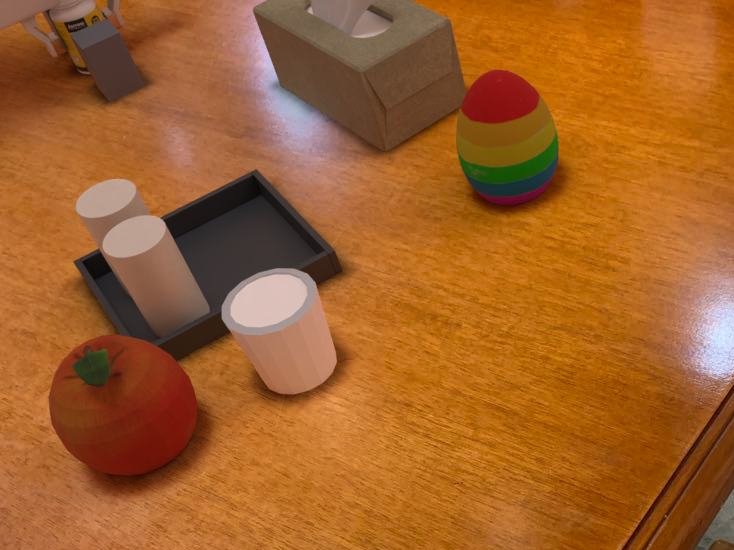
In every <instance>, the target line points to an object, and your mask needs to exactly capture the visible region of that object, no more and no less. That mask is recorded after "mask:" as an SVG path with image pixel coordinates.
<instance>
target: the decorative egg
mask: <svg viewBox="0 0 734 550" xmlns="http://www.w3.org/2000/svg"><path fill="white" fill-rule="evenodd" d="M466 92H467V94H466V95H465V97H464V99H463V102H462V104H461V107H459V108H460V109H459V111H458V115H457V119H456V130H455V131H456V132H455V143H456V144H455V145H456V153H457V157H458V161H459V164H460V167H461V170H462V172H463V174H464V176H465V178H466V180H467V182H468V183H469V185H470V186H471V187H472V189H473V190H474V191H475V192H476V193H477V194H478V195H479V196H481V197H482V198H483V199H484V200H486V201H487V202H490V203H492V204H494V205H499V206H516V205H521V204H526V203H528V202H530V201H533V200H534V199H537V198H538V197H540V196H541V195H542V194H544V193H545V192H546V190H547V189H548V188H549V186H550V184H551V182H552V181H553V179H554V176H555V174H556V171H557V166H558V163H559V162H558V161H559V152H560V147H559V146H560V145H559V143H560V142H559V137H558V136H559V135H558V130H557V127H556V124H555V120H554V118H553V115H552V113H551V110H550V109H549V106H548V105H547V102H546V101H545V100H544V98H543V97H542V95H541V94H540V93H539V92H538V91H537V89H536V88H535V87H534V85H532V84H531V83H530V82H528V81H527V80H526V79H525V78H524V77H522V76H520V75H519V74H517V73H515V72H512V71H510V70H506V69H493V70H489V71H486V72H484V73H483V74H481V75H480V76H479V77H478V78H476V79H475V80H474V82H473V83H472V84H471V86H470V87H469V88H468V90H467V91H466Z"/></svg>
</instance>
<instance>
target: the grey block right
mask: <svg viewBox="0 0 734 550" xmlns="http://www.w3.org/2000/svg"><path fill="white" fill-rule="evenodd" d="M103 19H104V20H101V21H99V22H97V23H95V24H92V25H90V26H88V27H86V28H84V29H81V30H79V31H77V32H75V33H72V34H70V37H71V39H72V40H73V42H74V44H75V46H76V48H77V50H78V52H79V54H80V56H81V58H82V59H83V61H84V63H85V65H86V67H87V69H88V71H89V73H90V74H89V75H90V77H91V78H92V80H93V82H94V84H95V86H96V88H97V89H98V91H99V92H100V93H101V94H102V96H104V97H105V99H106V100H107V101H108V102H109V103H111V102H113V101H115V100H118V99H119V98H120V99H121V98H122V97H124V96H126V95H128V94H131V93H133V92H135V91H137V90H139V89H141V88H144V87H145V86H146V83H145V81H144V79H143V77H142V75H141V74H140V71H139V69H138V67H137V65H136V63H135V61H134V58H133V57H132V55H131V53H130V50H129V49H128V46H127V44H126V42H125V40H124V38H123V36H122V34H121V32H120V31H119V29H118V30H117V29H116V28H115V27H114V26H113V25H112V24H111V23H110V22H109V21H108V20H107V19H105V18H103Z"/></svg>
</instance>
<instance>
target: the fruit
mask: <svg viewBox="0 0 734 550" xmlns="http://www.w3.org/2000/svg"><path fill="white" fill-rule="evenodd" d="M48 408H49V415H50V422H51V426H52V428H53V429H54V431H55V433H56V435H57V437H58V439H59V441H60V442H61V443H62V445H63V446H64V448H65V450H66V451H68V453H70V454H71V455H72V456H73V457H74V458H75V459H76V460H77V461H78V462H81V463H83V464H85V465H86V466H88V467H90V468H91V469H94V470H96V471H99V472H101V473H103V474H109V475H118V476H128V477H132V476H138V475H145V474H147V473H150V472H153V471H155V470H159V469H161V468H162V467H163V466H165V465H166V464H168V463H170V462H172V461H173V460H175V459H176V457H178V456H179V455H180V454H181V453H182V452H183V451H184V450H185V448H186V447H187V445H188V444H189V442H190V441H191V439H192V436H193V434H194V432H195V427H196V423H197V420H198V402H197V395H196V392H195V388H194V386H193V383H192V380H191V377H190V376H189V375H188V373H186V371H185V370H184V369H183V367H182V366H181V365H180V364H179V363H178V361H175V359H174V358H173V357H172V356H171V355H170V354H168V353H167V352H165V351H164V350H162V349H161V348H159V347H157V346H155V345H153V344H151V343H149V342H147V341H145V340H141V339H137V338H132V337H127V336H122V335H120V334H109V335H108V334H107V335H101V336H96V337H93V338H90V339H87V340H86V341H84V342H82V343H81V344H79V345H78V346H76V347H75V348H73V349H72V350H71V351H70V352H69V353H68V354H67V355H66V356H65V357H64V359H62V360H61V362H60V364H59V366H58V367H57V369H56V371H55V373H54V375H53V379H52V382H51V385H50V389H49V393H48Z"/></svg>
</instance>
